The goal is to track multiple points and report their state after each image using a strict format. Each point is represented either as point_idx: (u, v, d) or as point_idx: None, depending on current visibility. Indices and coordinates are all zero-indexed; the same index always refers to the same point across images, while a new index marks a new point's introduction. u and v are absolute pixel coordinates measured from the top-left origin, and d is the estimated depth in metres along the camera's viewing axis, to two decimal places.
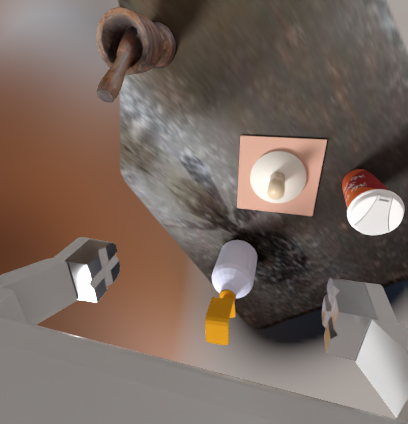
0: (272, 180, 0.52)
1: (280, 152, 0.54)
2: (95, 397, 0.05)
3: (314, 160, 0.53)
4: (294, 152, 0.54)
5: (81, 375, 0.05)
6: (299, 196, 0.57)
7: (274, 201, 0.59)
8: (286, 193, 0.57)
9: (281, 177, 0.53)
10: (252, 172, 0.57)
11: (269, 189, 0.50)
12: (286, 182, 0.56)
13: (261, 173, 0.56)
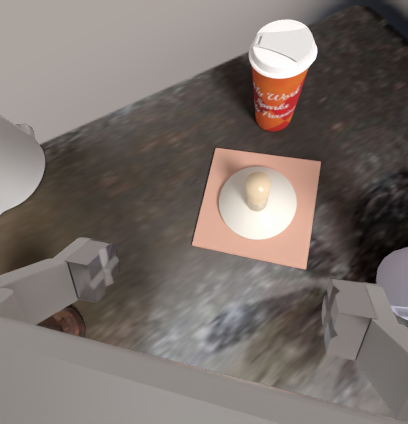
0: (247, 195, 0.36)
1: (220, 195, 0.41)
2: (95, 397, 0.05)
3: (238, 159, 0.43)
4: (225, 181, 0.42)
5: (81, 375, 0.05)
6: (288, 177, 0.41)
7: (294, 208, 0.39)
8: (280, 191, 0.40)
9: None
10: (244, 234, 0.39)
11: (253, 191, 0.33)
12: None
13: (247, 221, 0.39)
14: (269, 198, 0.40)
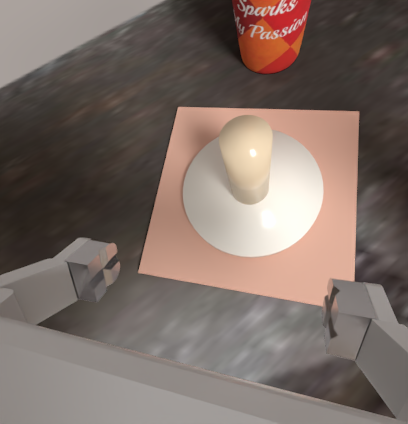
0: (226, 170, 0.18)
1: (185, 182, 0.23)
2: (95, 397, 0.05)
3: (215, 121, 0.26)
4: None
5: (81, 375, 0.05)
6: (302, 142, 0.23)
7: (319, 194, 0.21)
8: (290, 165, 0.22)
9: None
10: (229, 248, 0.21)
11: (235, 155, 0.15)
12: None
13: (233, 224, 0.21)
14: (272, 180, 0.22)
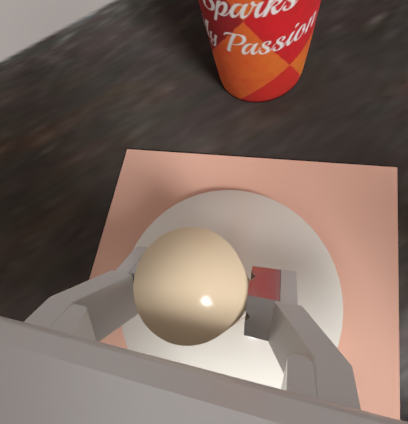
0: None
1: None
2: (95, 397, 0.05)
3: (178, 174, 0.17)
4: None
5: (81, 375, 0.05)
6: (308, 214, 0.15)
7: (336, 314, 0.12)
8: (287, 258, 0.14)
9: None
10: None
11: (163, 327, 0.07)
12: (240, 257, 0.14)
13: (195, 361, 0.13)
14: None
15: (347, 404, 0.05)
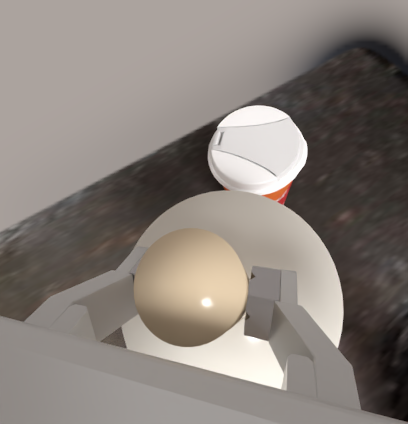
0: None
1: None
2: (95, 397, 0.05)
3: None
4: None
5: (81, 375, 0.05)
6: None
7: (336, 314, 0.12)
8: (288, 258, 0.14)
9: None
10: None
11: (164, 329, 0.07)
12: (240, 258, 0.14)
13: (195, 361, 0.13)
14: None
15: (347, 404, 0.05)
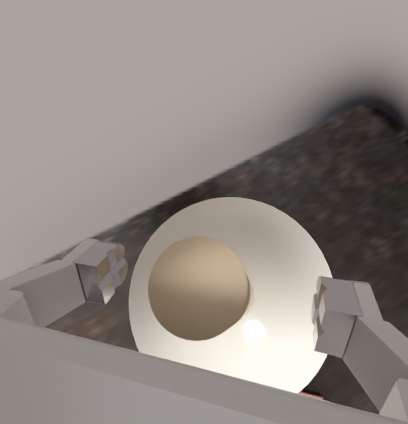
0: None
1: (134, 278, 0.16)
2: (95, 397, 0.05)
3: None
4: None
5: (81, 375, 0.05)
6: None
7: None
8: (285, 261, 0.15)
9: None
10: None
11: (175, 325, 0.08)
12: (241, 260, 0.15)
13: (200, 357, 0.14)
14: (258, 284, 0.15)
15: None
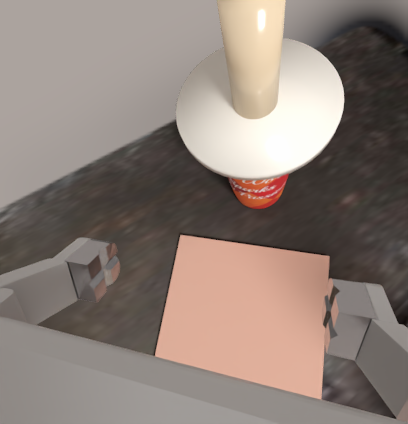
0: (227, 55, 0.14)
1: (179, 100, 0.20)
2: (95, 397, 0.05)
3: (212, 253, 0.31)
4: (193, 286, 0.30)
5: (81, 375, 0.05)
6: (283, 280, 0.28)
7: (339, 101, 0.17)
8: (303, 73, 0.18)
9: None
10: (231, 167, 0.17)
11: (238, 11, 0.12)
12: None
13: (236, 142, 0.18)
14: (281, 90, 0.18)
15: None
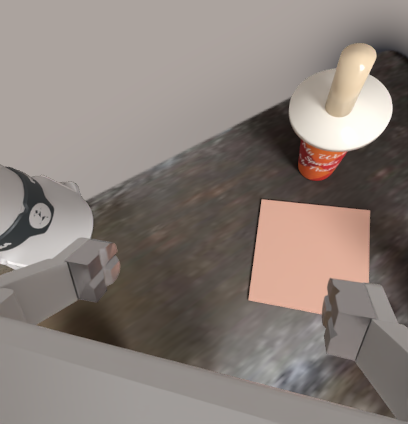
0: (337, 84, 0.28)
1: (290, 106, 0.33)
2: (95, 397, 0.05)
3: (286, 210, 0.44)
4: (275, 233, 0.43)
5: (81, 375, 0.05)
6: (338, 227, 0.42)
7: (389, 107, 0.31)
8: (366, 90, 0.32)
9: None
10: (329, 144, 0.31)
11: (353, 66, 0.25)
12: None
13: (330, 130, 0.31)
14: None
15: None
